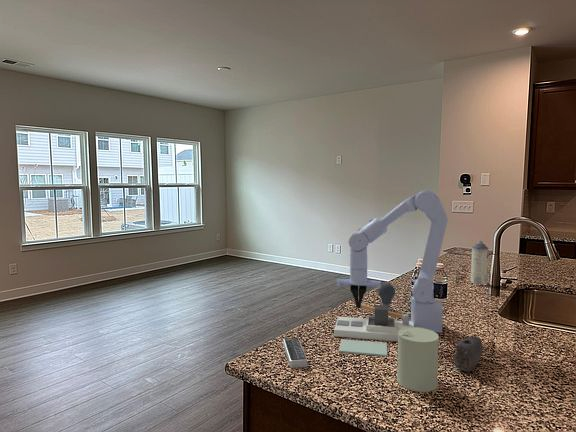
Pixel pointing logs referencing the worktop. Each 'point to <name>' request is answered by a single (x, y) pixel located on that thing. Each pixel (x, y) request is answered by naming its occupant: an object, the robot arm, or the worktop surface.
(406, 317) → the hammer
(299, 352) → the multiport hub
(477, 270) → the aerosol can
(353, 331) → the white panel
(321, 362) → the worktop surface
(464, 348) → the perforated stone tool
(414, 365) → the can
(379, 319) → the plug
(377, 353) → the mat
